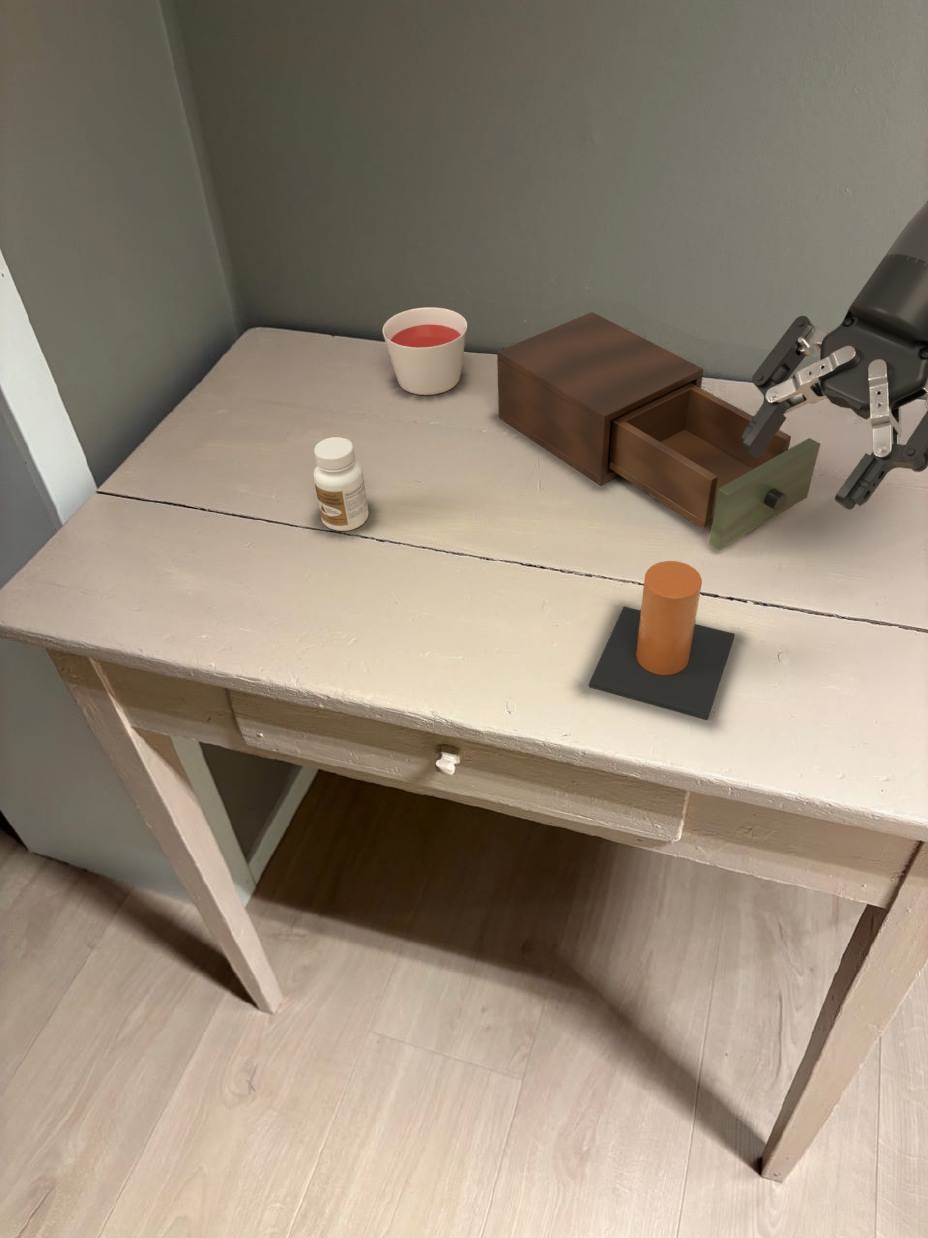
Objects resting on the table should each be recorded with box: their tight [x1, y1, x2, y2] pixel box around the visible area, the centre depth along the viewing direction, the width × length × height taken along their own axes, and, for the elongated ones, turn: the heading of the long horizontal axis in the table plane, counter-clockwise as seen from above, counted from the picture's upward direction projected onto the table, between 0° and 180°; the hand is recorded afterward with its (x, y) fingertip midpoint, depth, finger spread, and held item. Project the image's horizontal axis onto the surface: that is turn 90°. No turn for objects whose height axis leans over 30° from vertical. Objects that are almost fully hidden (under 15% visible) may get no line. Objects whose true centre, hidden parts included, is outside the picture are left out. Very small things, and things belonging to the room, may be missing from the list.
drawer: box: [610, 383, 821, 551], centre depth 86 cm, size 16×11×6 cm
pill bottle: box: [312, 436, 369, 532], centre depth 86 cm, size 4×4×8 cm
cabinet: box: [496, 311, 704, 486], centre depth 95 cm, size 16×13×8 cm
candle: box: [382, 306, 468, 396], centre depth 104 cm, size 9×9×6 cm
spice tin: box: [636, 560, 703, 675], centre depth 71 cm, size 4×4×8 cm
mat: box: [588, 605, 736, 720], centre depth 74 cm, size 9×9×1 cm
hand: (794, 478), depth 70 cm, fingers open, 8 cm apart
